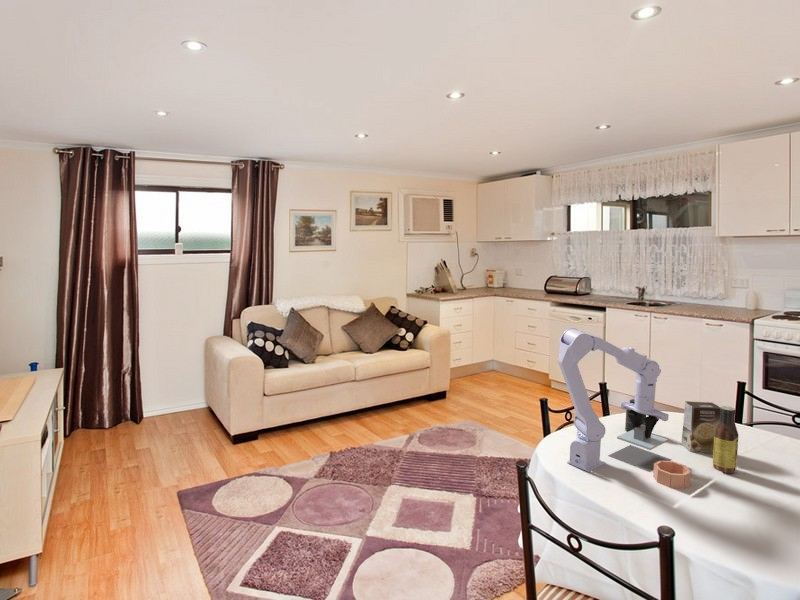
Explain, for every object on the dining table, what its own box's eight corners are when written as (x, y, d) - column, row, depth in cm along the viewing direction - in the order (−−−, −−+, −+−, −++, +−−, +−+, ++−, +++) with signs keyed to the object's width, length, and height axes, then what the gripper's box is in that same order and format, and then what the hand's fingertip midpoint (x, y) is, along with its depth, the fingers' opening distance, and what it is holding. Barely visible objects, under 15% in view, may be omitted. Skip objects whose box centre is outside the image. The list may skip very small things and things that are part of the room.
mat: (649, 473, 153) (649, 471, 153) (607, 457, 164) (607, 455, 164) (671, 461, 161) (671, 459, 161) (630, 446, 173) (630, 444, 173)
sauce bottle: (739, 475, 152) (745, 413, 149) (717, 473, 153) (722, 411, 150) (730, 465, 158) (735, 405, 155) (708, 463, 159) (713, 404, 157)
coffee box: (689, 453, 167) (693, 407, 165) (680, 445, 173) (684, 401, 171) (718, 454, 166) (722, 408, 164) (708, 446, 172) (712, 401, 170)
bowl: (679, 492, 142) (680, 478, 141) (648, 480, 149) (649, 466, 148) (694, 483, 147) (695, 469, 146) (663, 471, 154) (664, 458, 154)
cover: (650, 450, 154) (651, 437, 153) (616, 438, 162) (617, 426, 162) (667, 441, 160) (668, 428, 160) (634, 430, 169) (635, 418, 168)
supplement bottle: (648, 436, 181) (650, 404, 179) (629, 435, 181) (631, 404, 180) (640, 428, 188) (642, 398, 186) (621, 428, 188) (623, 398, 186)
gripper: (674, 398, 156) (671, 439, 158) (629, 387, 167) (627, 425, 169) (663, 403, 152) (660, 445, 153) (618, 391, 163) (616, 430, 165)
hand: (642, 435), depth 161 cm, fingers closed on cover, 3 cm apart
